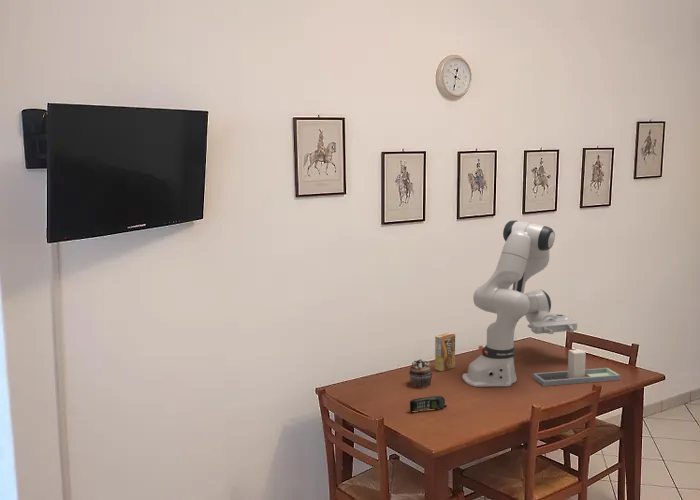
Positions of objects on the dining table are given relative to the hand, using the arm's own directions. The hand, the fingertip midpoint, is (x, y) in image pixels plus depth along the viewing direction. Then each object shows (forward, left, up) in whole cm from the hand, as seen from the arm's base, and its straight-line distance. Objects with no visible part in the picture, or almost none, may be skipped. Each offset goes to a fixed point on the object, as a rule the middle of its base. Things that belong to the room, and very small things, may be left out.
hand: (562, 331), depth 289 cm
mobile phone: (-70, -33, -17) cm, 79 cm away
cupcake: (-65, -6, -17) cm, 68 cm away
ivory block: (0, -14, -17) cm, 22 cm away
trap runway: (0, -14, -17) cm, 22 cm away
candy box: (-49, +11, -17) cm, 53 cm away
